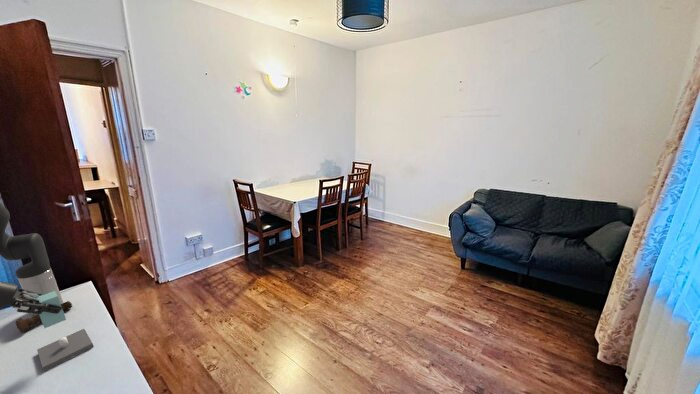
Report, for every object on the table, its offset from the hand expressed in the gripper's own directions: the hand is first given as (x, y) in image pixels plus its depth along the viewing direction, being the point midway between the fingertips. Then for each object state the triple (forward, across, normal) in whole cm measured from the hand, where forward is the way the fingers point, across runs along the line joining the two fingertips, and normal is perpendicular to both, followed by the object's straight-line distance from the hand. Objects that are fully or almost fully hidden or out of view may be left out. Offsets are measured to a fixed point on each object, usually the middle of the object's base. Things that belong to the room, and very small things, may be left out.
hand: (58, 307), depth 93 cm
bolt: (+10, +28, +14) cm, 32 cm away
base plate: (+10, 0, +13) cm, 16 cm away
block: (+2, 0, +4) cm, 5 cm away
